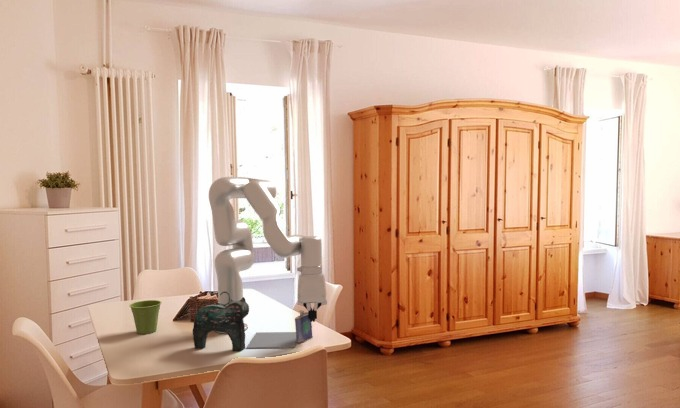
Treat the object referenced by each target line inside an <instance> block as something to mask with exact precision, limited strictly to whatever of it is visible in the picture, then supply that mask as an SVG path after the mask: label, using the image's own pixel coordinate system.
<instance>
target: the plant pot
mask: <svg viewBox="0 0 680 408" xmlns="http://www.w3.org/2000/svg"><path fill="white" fill-rule="evenodd" d="M161 305H162V301H161V300H156V299H152V300H151V299H148V300H140V301H135V302H131V303H130V304H129V307H130V308H131V312H132V316H133V322H134V325H135V330H136V333H137V334H139V335H148V334H152V333H154V332H157V328H158V322H159V321H158V320H159V312H160V307H161Z"/></svg>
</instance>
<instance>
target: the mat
mask: <svg viewBox="0 0 680 408" xmlns="http://www.w3.org/2000/svg"><path fill="white" fill-rule="evenodd" d="M296 344H297V339H296V331H290V332H289V331H277V332H274V331H273V332H267V331H266V332H263V331H262V332H261V331H260V332H255V334H254V335H253V337H252V339H251V340H250V341H249V343H248V344H247V346H245V349H249V350H250V349H251V350H252V349H253V350H255V349H260V350H261V349H294V348H295V346H296Z"/></svg>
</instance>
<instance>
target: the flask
mask: <svg viewBox="0 0 680 408" xmlns="http://www.w3.org/2000/svg"><path fill="white" fill-rule="evenodd" d="M294 322H295V323H294V324H295V332H296V339H297V341H296V344H301V343H305V342H306V341H308V340H310V339H312V338H313V325H312V322H310V319H308V311H307V312H305V311H304V310H300V309H299V315H298V316H297V317H294Z"/></svg>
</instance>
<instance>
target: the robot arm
mask: <svg viewBox="0 0 680 408" xmlns="http://www.w3.org/2000/svg"><path fill="white" fill-rule="evenodd" d="M276 196H277V188H276V185H275V184H274V183H273V182H271V181H270V180H268V179H267V180H266V179H257V178H253V177H252V178H251V177H246V176H224V177H223V176H222V177H220V178H217V179H216V180H214V181H213V183H211V184H210V187H209V191H208V200H209V205H210V211H211V215H212V223H213V230H214V237H215V238H214V239H215V241H216V244H218V245H219V246H222V247H229V246H230V247H231V246H232V248H228V249H224V250H222V251H220V252H219V253H218V254H217V255H216V256H215V259H214V268H215V272H216V278H217V281H216V282H217V293H218V294H217V298H218V299H217V300H218V302H217V303H220V304H227V303H228V302H229V295H230V302H231V299H233V300H234V301H239V300H241V299H242V298H243V297H244V287H243V285H244V284H243V280H242V278H241V275H240V272H243V271H246V270H249V269H250V268H251V267H252V266H253V265H254V262H255V253H254V242H253V237H252V231H251V229H250V226H249V224H247V223H246V222H245V221H243V220H236V216H235V209H234V207H233V205H232V203H231V202H230V200H231V199H246V201H247V202H248V204H249V205H250V206H251V208H252V209H253V211H254V212H255V213H256V214H257V217H258V218H259V219H260V221H261V222H262V231H263V232H262V233H263V236H264V239H265V241H266V242H267V244H268V246H269V247H270V248H271V250H272V251H273V252H274V254H276V255H277V256H279V258H283V259H287V258H291V257H295V256H299V255H300V267H297V268H296V271H297V272H299V273H300V274H299V275H298V282H297V303H296V304H297V305H298V306H302V307H304V308H305V309H306V310H307V312H308V319H310V322H311V323H312V322H313V323H315V321H316V320H317V318H318V314H317V313H318V310H319V308H320V307H321V306H322V307H323V306H326V305H328V300H327V284H326V278H325V273H323V256H322V255H323V251H322V250H323V249H322V248H323V247H322V245H323V243H322V239H321V237H320V236H318V235H317V236H316V235H307V236H306V235H300V234H292V235H286V234H285V233H284V232H283V230H282V229H281V226H280V225H279V222H278V219H279V217H280V215H281V213H282V208H281V206H280V205H279V204H278V202H277V201H276V200H275V198H276ZM225 291H226V292H228V293H229V295H228V294H227V293H222V292H225ZM221 293H222V294H221ZM220 294H221V296H220ZM230 302H229V303H230ZM311 304H314V305H313V307H312V305H311ZM227 305H228V304H227ZM244 318H245V317H244ZM244 318H243V322H244V321H245V320H244ZM248 328H249V327H248V323H245V322H244V329H245V330H244V331H246V330H248ZM215 332H216V333H218V334H227V333H224V332H218V331H215ZM227 335H228V334H227Z"/></svg>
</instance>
